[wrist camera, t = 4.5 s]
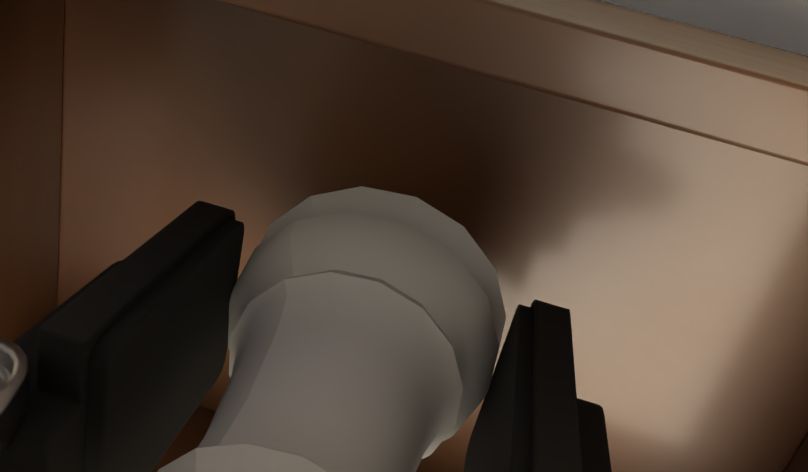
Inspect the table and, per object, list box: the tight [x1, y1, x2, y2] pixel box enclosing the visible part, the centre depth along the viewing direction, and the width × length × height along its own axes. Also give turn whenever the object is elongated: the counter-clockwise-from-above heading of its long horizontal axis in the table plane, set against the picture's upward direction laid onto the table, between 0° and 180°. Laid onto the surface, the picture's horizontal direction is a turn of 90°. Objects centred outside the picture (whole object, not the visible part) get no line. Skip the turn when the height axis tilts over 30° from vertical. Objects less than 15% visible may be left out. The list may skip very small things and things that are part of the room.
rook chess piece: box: [158, 186, 506, 472], centre depth 9 cm, size 4×4×8 cm
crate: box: [0, 0, 808, 472], centre depth 12 cm, size 18×12×5 cm, turn 77°
